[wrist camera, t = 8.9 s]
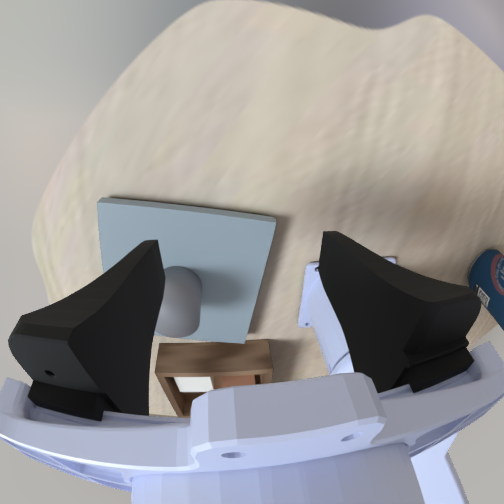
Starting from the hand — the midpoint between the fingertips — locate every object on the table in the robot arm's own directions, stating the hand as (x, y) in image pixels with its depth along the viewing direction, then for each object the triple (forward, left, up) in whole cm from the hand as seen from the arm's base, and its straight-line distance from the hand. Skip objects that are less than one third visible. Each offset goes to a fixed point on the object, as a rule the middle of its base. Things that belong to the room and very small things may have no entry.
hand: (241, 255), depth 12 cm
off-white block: (+6, +21, -9) cm, 23 cm away
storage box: (+3, +23, -9) cm, 25 cm away
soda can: (-33, +10, -10) cm, 36 cm away
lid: (+5, +8, -9) cm, 13 cm away
